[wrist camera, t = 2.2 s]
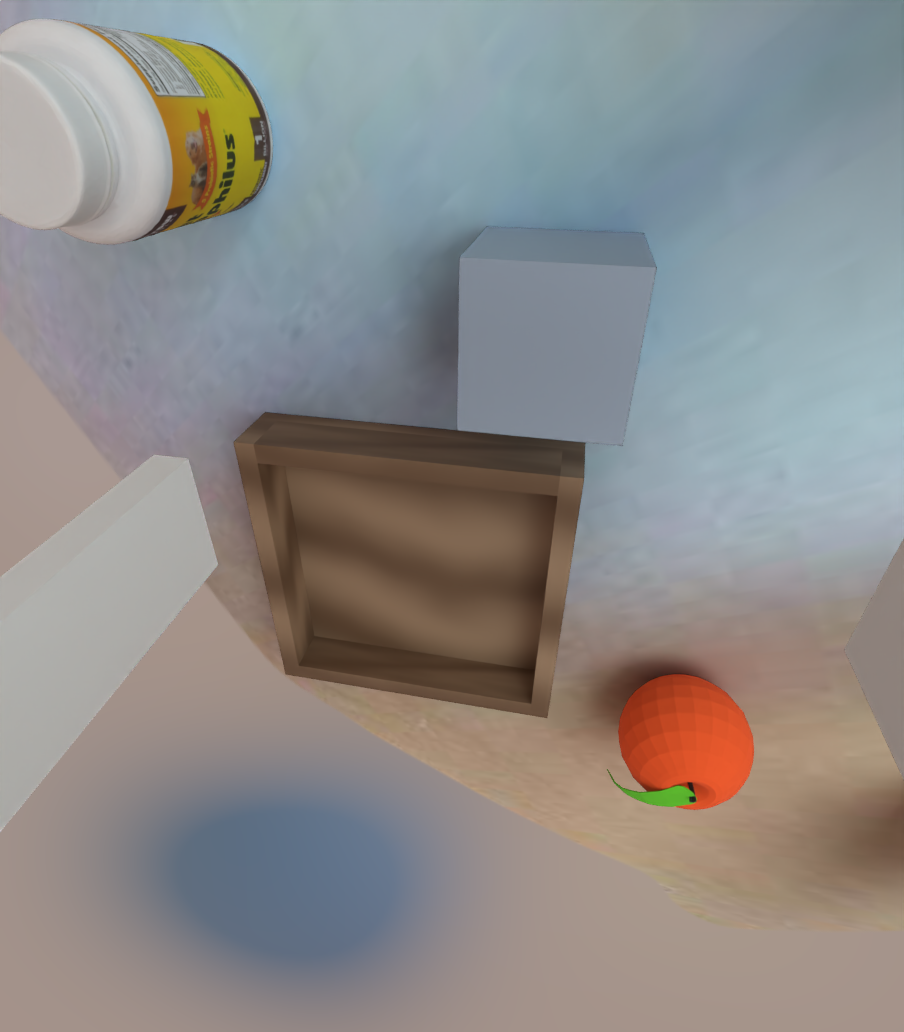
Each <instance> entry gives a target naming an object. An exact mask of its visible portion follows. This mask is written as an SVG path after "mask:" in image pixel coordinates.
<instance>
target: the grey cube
mask: <svg viewBox="0 0 904 1032" xmlns="http://www.w3.org/2000/svg"><path fill="white" fill-rule="evenodd" d="M656 269H657V267H656V264H655V262H654V259H653V256H652V254H651V251H650V248H649V246H648V243H647V240H646V238H645V235H644V233H631V232H607V231H584V230H560V229H536V228H513V227H489V226H487V227H486V228H485V229H484V230H483V231H482V233H481V234H480V235H479V236H478V237H477V238H476V239H475V241H474V242H473V243H472V244H471V245H470V246H469V247H468V249H467V250H466V251H465V252H464V253H463V254H462V255H461V256H460V258H459V327H458V397H457V430H461V431H471V432H481V433H492V434H502V435H513V436H523V437H534V438H544V439H555V440H565V441H575V442H586V443H596V444H607V445H617V446H623V442H624V436H625V431H626V426H627V421H628V415H629V410H630V405H631V400H632V395H633V389H634V384H635V379H636V374H637V368H638V363H639V358H640V353H641V347H642V342H643V337H644V332H645V327H646V321H647V316H648V311H649V306H650V300H651V295H652V290H653V285H654V279H655V274H656Z"/></svg>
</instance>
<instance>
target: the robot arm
mask: <svg viewBox="0 0 904 1032" xmlns="http://www.w3.org/2000/svg"><path fill="white" fill-rule="evenodd" d="M217 566H218V563H217V559H216V555H215V552H214V548H213V545H212V541H211V538H210V534H209V531H208V527H207V523H206V520H205V516H204V513H203V509H202V506H201V502H200V499H199V495H198V491H197V488H196V484H195V481H194V477H193V474H192V470H191V466H190V463H189V459H188V458H179V457H170V456H161V455H153V456H152V457H150V458H149V459H148V460H147V461H145V462H144V463H143V464H142V465H140V466H139V467H138V468H137V469H135V470H134V471H133V472H132V473H130V474H129V475H128V476H127V477H125V478H124V479H123V480H122V481H120V482H119V483H118V484H117V485H115V486H114V487H113V488H112V489H110V490H109V491H108V492H107V493H105V494H104V495H103V496H101V497H100V498H99V499H98V500H97V501H95V502H94V503H93V504H91V505H90V506H89V507H88V508H87V509H85V510H84V511H83V512H81V513H80V514H79V515H78V516H76V517H75V518H74V519H73V520H71V522H69V523H68V524H66V525H65V526H64V527H63V528H61V529H60V530H59V531H58V532H56V533H55V534H54V535H53V536H51V537H50V538H49V539H48V540H46V541H45V542H44V543H42V544H41V545H40V546H39V547H37V548H36V549H35V550H34V551H33V552H31V553H30V554H29V555H27V556H26V557H25V558H24V559H23V560H21V561H20V562H19V563H17V564H16V565H15V566H14V567H12V568H11V569H10V570H9V571H7V572H6V573H5V574H4V575H2V576H1V577H0V832H1V830H2V829H3V828H4V826H6V824H7V823H8V822H9V821H10V819H11V818H12V817H13V816H14V814H15V813H16V812H17V811H18V809H19V808H20V807H21V806H22V805H23V803H24V802H25V801H26V800H27V799H28V797H29V796H30V795H31V793H32V792H33V791H34V790H35V789H36V788H37V786H38V785H39V784H40V783H41V781H42V780H43V779H44V778H45V776H46V775H47V774H48V773H49V772H50V770H51V769H52V768H53V767H54V765H55V764H56V763H57V762H58V761H59V759H60V758H61V757H62V756H63V754H64V753H65V752H66V751H67V750H68V748H69V747H70V746H71V745H72V743H73V742H74V741H75V740H76V739H77V737H78V736H79V735H80V734H81V732H82V731H83V730H84V728H85V727H86V726H87V725H88V724H89V723H90V721H91V720H92V719H93V718H94V716H95V715H96V714H97V713H98V712H99V710H100V709H101V708H102V707H103V705H104V704H105V703H106V702H107V700H108V699H109V698H110V697H111V695H112V694H113V693H114V692H115V691H116V689H117V688H118V687H119V686H120V685H121V683H122V682H123V681H124V680H125V678H126V677H127V676H128V675H129V674H130V672H131V671H132V670H133V669H134V667H135V666H136V665H137V664H138V662H139V661H140V660H141V659H142V658H143V656H144V655H145V654H146V653H147V652H148V650H149V649H150V648H151V647H152V645H153V644H154V643H155V642H156V640H157V639H158V638H159V636H161V634H162V633H163V632H164V631H165V629H166V628H167V627H168V626H169V625H170V623H171V622H172V621H173V619H174V618H175V617H176V616H177V615H178V614H179V612H180V611H181V610H182V609H183V607H184V606H185V605H186V604H187V602H188V601H189V600H190V599H191V598H192V596H193V595H194V594H195V593H196V591H197V590H198V589H199V588H200V587H201V585H202V584H203V583H204V582H205V580H206V579H207V578H208V577H209V576H210V574H211V573H212V572H213V571H214V569H215V568H216V567H217ZM844 650H845V653H846V655H847V657H848V659H849V661H850V664H851V666H852V668H853V670H854V672H855V675H856V677H857V679H858V681H859V683H860V685H861V688H862V690H863V692H864V694H865V696H866V699H867V701H868V703H869V705H870V707H871V710H872V712H873V714H874V716H875V718H876V720H877V723H878V725H879V727H880V729H881V731H882V734H883V736H884V738H885V740H886V742H887V745H888V747H889V749H890V751H891V753H892V755H893V758H894V760H895V762H896V764H897V766H898V769H899V771H900V773H901V775H902V777H903V780H904V539H903V541H902V543H901V544H900V546H899V548H898V550H897V552H896V554H895V556H894V557H893V559H892V561H891V563H890V565H889V567H888V569H887V571H886V572H885V574H884V576H883V578H882V580H881V582H880V584H879V585H878V587H877V589H876V591H875V593H874V595H873V597H872V598H871V600H870V602H869V604H868V606H867V608H866V610H865V612H864V613H863V615H862V617H861V619H860V621H859V623H858V625H857V626H856V628H855V630H854V632H853V634H852V636H851V638H850V639H849V641H848V643H847V645H846V647H845V649H844Z"/></svg>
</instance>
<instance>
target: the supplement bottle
mask: <svg viewBox="0 0 904 1032" xmlns="http://www.w3.org/2000/svg"><path fill="white" fill-rule="evenodd" d="M272 157H273V138H272V130H271V125H270V120H269V117H268V114H267V111H266V108H265V105H264V103H263V101H262V99H261V97H260V95H259V93H258V91H257V89H256V88H255V86H254V85H253V83H252V82H251V80H250V79H249V78H248V76H247V75H246V74H245V73H244V72H243V70H242V69H241V68H240V67H239V66H238V65H237V64H235V63H234V62H233V61H232V60H231V59H230V58H228V57H227V56H225V55H224V54H222V53H221V52H219V51H217V50H215V49H213V48H211V47H208V46H206V45H203V44H199V43H195V42H189V41H184V40H177V39H172V38H165V37H159V36H152V35H147V34H141V33H135V32H129V31H123V30H117V29H111V28H105V27H98V26H93V25H87V24H81V23H75V22H68V21H63V20H55V19H32V20H28V21H24V22H21V23H18V24H16V25H13V26H11V27H10V28H8V29H7V30H5V31H4V32H3V33H2V34H1V35H0V214H1V215H2V216H4V217H6V218H7V219H9V220H11V221H13V222H15V223H17V224H19V225H22V226H24V227H28V228H32V229H38V230H51V229H57V228H58V229H60V230H62V231H63V232H65V233H67V234H69V235H71V236H73V237H76V238H78V239H81V240H84V241H87V242H92V243H97V244H107V245H111V244H120V243H125V242H130V241H135V240H138V239H141V238H143V237H147V236H151V235H154V234H157V233H160V232H163V231H167V230H171V229H174V228H178V227H181V226H185V225H188V224H192V223H195V222H198V221H202V220H205V219H209V218H212V217H216V216H219V215H222V214H226V213H229V212H232V211H235V210H237V209H240V208H242V207H244V206H245V205H247V204H248V203H250V202H251V201H252V200H253V199H254V198H255V197H256V196H257V195H258V194H259V193H260V191H261V190H262V188H263V187H264V185H265V183H266V181H267V178H268V175H269V172H270V169H271V164H272Z"/></svg>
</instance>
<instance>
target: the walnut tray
mask: <svg viewBox="0 0 904 1032" xmlns="http://www.w3.org/2000/svg"><path fill="white" fill-rule="evenodd" d="M234 447H235V451H236V456H237V460H238V465H239V469H240V474H241V478H242V482H243V487H244V491H245V496H246V500H247V505H248V509H249V514H250V518H251V522H252V527H253V531H254V536H255V540H256V545H257V549H258V554H259V558H260V562H261V567H262V571H263V576H264V580H265V585H266V589H267V594H268V598H269V602H270V607H271V611H272V616H273V620H274V625H275V629H276V634H277V638H278V642H279V647H280V651H281V656H282V660H283V665H284V669H285V674H287V675H293V676H299V677H305V678H311V679H317V680H323V681H329V682H335V683H341V684H347V685H353V686H359V687H365V688H371V689H377V690H383V691H389V692H395V693H401V694H407V695H412V696H418V697H424V698H430V699H436V700H442V701H448V702H454V703H460V704H466V705H472V706H478V707H484V708H490V709H496V710H502V711H508V712H514V713H520V714H526V715H532V716H538V717H544V718H547V716H548V710H549V703H550V697H551V690H552V684H553V677H554V671H555V664H556V658H557V651H558V645H559V638H560V632H561V625H562V619H563V612H564V606H565V599H566V593H567V586H568V580H569V573H570V567H571V560H572V554H573V547H574V541H575V534H576V528H577V521H578V515H579V508H580V502H581V495H582V489H583V482H584V464H585V443H581V442H571V441H560V440H550V439H539V438H529V437H518V436H508V435H497V434H487V433H476V432H466V431H455V430H445V429H434V428H424V427H413V426H403V425H392V424H382V423H371V422H361V421H350V420H340V419H329V418H319V417H308V416H298V415H287V414H277V413H266V412H265V413H264V414H263V415H262V416H261V417H260V418H259V419H258V420H257V421H255V422H254V423H253V424H252V425H251V426H250V427H249V428H248V429H247V430H246V431H245V432H244V433H243V434H242V435H240V436H239V437H238V438H237V439H236V440H235V441H234Z"/></svg>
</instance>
